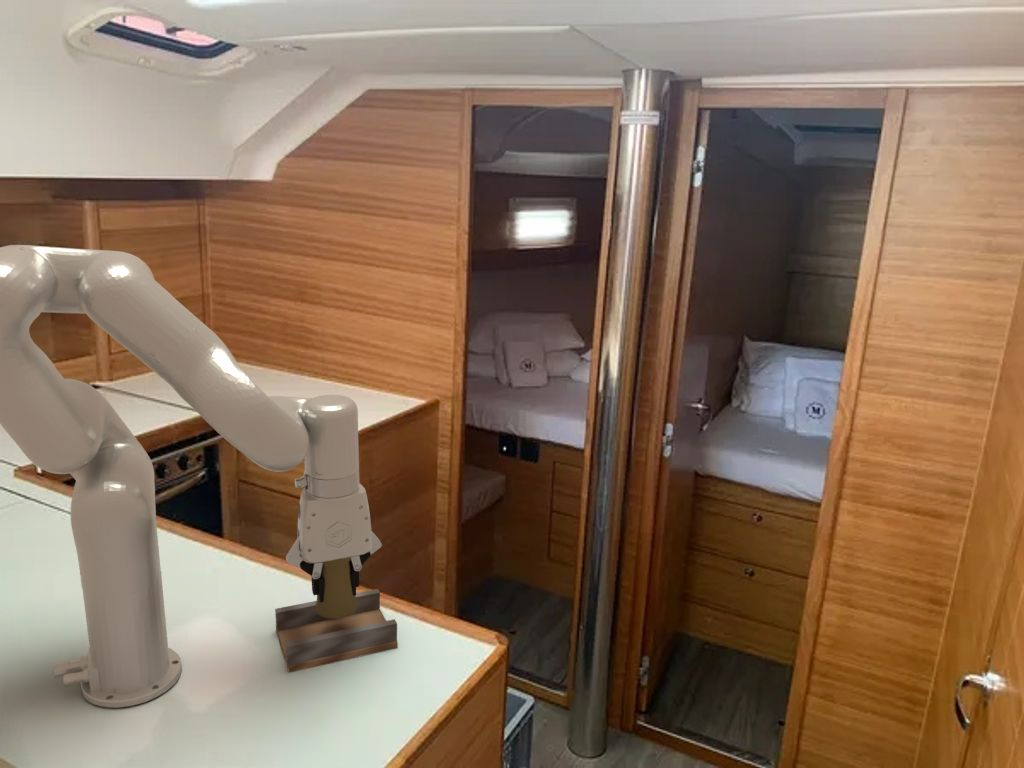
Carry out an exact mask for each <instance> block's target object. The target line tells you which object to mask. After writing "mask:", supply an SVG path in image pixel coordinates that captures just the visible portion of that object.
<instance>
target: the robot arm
mask: <svg viewBox="0 0 1024 768" xmlns="http://www.w3.org/2000/svg"><path fill="white" fill-rule="evenodd" d="M42 313H55V314H80V315H81V314H84V315H85V314H86V316H87V317H88V318H89V319H90V320H91V321H93V323H95V324H96V325H97V326H98V327H99V328H100V329H102V330H103V331H104V332H105V333H106V334H108V335H109V336H110V337H111V338H113V339H114V340H115V341H116V342H117V343H119V344H120V345H121V346H122V347H124V348H125V349H126V350H127V351H129V353H131V354H132V355H133V356H134V357H136V358H137V359H138V360H139V361H140V362H142V364H144V365H145V366H147V367H148V369H150V370H151V371H152V372H154V373H155V374H156V375H157V376H159V377H160V378H161V379H162V380H163V381H165V382H166V383H167V384H168V385H169V386H171V388H172V389H173V391H175V392H176V393H177V395H178V396H179V397H180V398H181V399H182V400H183V401H185V403H187V405H189V406H190V408H192V409H193V410H194V411H195V412H196V413H197V414H198V415H199V416H201V418H202V419H203V420H204V421H205V422H206V423H207V424H208V425H209V426H210V427H212V428H213V429H214V431H216V432H217V433H218V434H219V435H220V437H222V438H224V439H225V440H226V441H227V442H228V443H229V444H231V445H232V446H233V447H234V448H235V449H237V450H238V451H239V452H240V453H242V455H244V456H246V457H247V458H248V459H249V460H250V461H251V462H253V463H254V464H256V465H257V466H259V467H260V468H262V469H265V470H267V471H271V472H274V473H275V472H277V473H278V472H279V473H282V472H288V471H290V470H293V469H295V468H297V467H298V466H300V464H302V463H303V461H304V470H303V474H302V476H300V477H299V478H294V487H295V488H296V489H302V490H301V493H300V499H299V504H298V513H297V514H298V515H297V516H298V517H297V538H296V540H295V541H294V543H293V544H292V545H291V548H290V549H289V550H288V552H287V554H286V556H285V559H286V563H287V564H288V565H290V566H293V567H296V568H299V569H301V570H302V571H303V572H305V573H306V574H308V575H310V576H311V592H312V596H317V595H318V596H319V601H320V603H321V602H323V601H324V590H325V584H324V578H323V577H322V572H321V570H322V564H323V563H322V562H328V561H333V560H337V559H344V558H350V557H351V560H350V561H349V563H350V569H351V571H350V576H351V586H352V591H353V596H355V595H356V593H357V588H358V587H359V588H360V571H361V570H362V568H363V565H364V564H365V563H366V562H367V560H368V559H369V558H371V555H373V554H374V553H375V552H377V551H378V550H379V549H380V548H382V546H383V545H382V542H381V540H380V539H379V538H378V536H377V535H376V534H375V533H374V532H373V531H372V524H371V523H372V522H371V514H370V506H369V501H368V495H367V491H366V488H365V487H364V486H363V485H362V484H361V483H360V458H359V457H360V455H359V453H360V452H359V450H360V449H359V411H358V406H357V403H356V402H355V401H354V400H353V399H352V398H351V397H348V396H345V395H341V394H324V395H318V396H314V397H296V396H294V397H293V396H282V395H281V396H280V395H269V396H268V395H267V393H265V392H264V391H263V390H262V389H261V388H260V387H259V386H258V385H257V384H256V383H255V382H254V380H252V378H250V377H249V375H248V374H247V372H245V371H244V369H243V368H242V367H241V365H240V364H239V363H238V362H237V360H236V358H235V357H234V355H233V353H232V352H231V350H230V349H229V348H228V346H227V344H225V343H224V342H223V340H222V339H221V338H220V337H219V336H218V335H217V334H216V333H215V332H214V331H212V329H211V328H210V327H209V326H207V325H206V324H205V323H204V322H203V321H202V320H200V318H198V317H197V316H196V315H194V314H193V313H192V312H191V311H190V310H189V309H188V308H186V307H185V306H184V305H183V304H182V303H181V302H179V300H177V299H176V298H175V297H174V296H173V295H172V294H171V293H170V292H169V291H168V290H167V289H166V288H164V287H163V286H162V285H161V284H160V283H159V282H158V281H156V280H155V278H154V274H153V272H152V270H151V268H150V267H149V265H148V264H146V262H145V261H144V260H142V259H141V258H140V257H138V256H136V255H134V254H132V253H129V252H125V251H117V250H108V249H107V250H105V249H88V248H87V249H85V248H72V247H58V246H57V247H56V246H43V245H31V244H9V245H5V246H0V425H1V427H2V428H3V429H4V431H5V432H6V433H7V434H8V436H10V438H11V439H12V440H13V441H14V442H15V444H16V445H17V446H18V447H19V449H20V450H21V451H22V453H23V454H24V455H25V457H27V459H28V460H29V462H31V463H32V464H34V465H35V466H36V467H38V468H39V469H40V470H43V471H46V472H47V473H51V474H56V475H66V474H67V475H68V474H70V476H72V478H73V479H74V480H75V483H74V487H73V492H72V496H71V497H72V498H71V502H70V524H71V531H72V536H73V540H74V545H75V549H76V555H77V560H78V566H79V568H78V569H79V575H80V577H79V578H80V584H81V589H82V597H83V605H84V613H85V621H86V627H87V628H86V629H87V637H88V643H89V644H88V646H89V647H88V654H86V655H81V656H80V659H75V660H67V661H61V662H57V663H54V664H53V665H54V666H53V672H54V673H53V674H54V679H59V678H63V685H64V686H68V685H73V684H76V683H80V689H81V693H82V696H83V697H84V699H86V701H88V702H89V703H90V704H92V705H96V706H99V707H104V708H112V709H113V708H114V709H115V708H117V709H118V708H125V707H126V708H127V707H132V706H136V705H140V704H143V703H147V702H148V701H151V700H153V699H155V698H157V697H159V696H160V695H162V694H165V693H166V692H167V691H168V690H169V689H170V688H172V687H173V686H174V685H175V684H176V682H178V680H179V678H180V677H181V675H182V671H183V668H182V667H183V666H182V665H183V664H182V658H181V657H180V655H179V653H178V652H176V651H175V650H173V649H172V648H169V643H168V642H169V641H168V633H167V632H168V631H167V623H166V611H165V609H166V608H165V599H164V598H165V597H164V589H163V588H164V587H163V578H162V577H163V576H162V569H161V558H160V550H159V549H160V548H159V539H158V531H157V530H158V529H157V514H156V513H157V510H156V486H155V469H154V466H153V462H152V460H151V458H150V456H149V455H148V453H147V451H146V450H145V448H144V447H143V445H142V444H141V443H140V442H139V441H138V438H136V437H135V435H134V434H133V432H132V431H131V430H130V428H129V427H128V426H127V424H126V423H125V421H123V419H122V418H121V417H120V415H119V414H118V412H117V411H116V410H115V408H113V406H112V405H111V403H110V402H109V401H108V399H107V398H106V397H105V396H104V395H103V394H102V393H101V392H100V391H99V390H97V388H95V387H93V385H90V384H89V383H86V382H84V381H81V380H79V379H78V380H77V379H75V378H74V379H73V378H64V376H63V375H62V374H61V373H60V371H58V369H57V367H56V366H55V364H54V363H53V361H52V360H51V359H50V358H49V356H47V353H45V352H44V351H43V350H42V349H41V348H40V347H39V346H38V345H37V344H36V342H34V341H33V338H32V337H31V334H30V328H31V325H32V324H33V322H35V320H36V319H37V318H38V317H39V316H40V315H41V314H42ZM300 555H301V556H300Z"/></svg>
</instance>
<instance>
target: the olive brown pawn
mask: <svg viewBox="0 0 1024 768" xmlns="http://www.w3.org/2000/svg"><path fill="white" fill-rule="evenodd" d="M350 560H351V557H350V558H344V559H337V560H333V561H328V562H322V563H323V564H322V570H321V572H322V577H323V578H324V584H325V590H324V601H323V602H321V603H320V601H319V596H318V595H316V601H317V602H316V611H317V613H318V614H319V615H320V616H323V617H325V618H341V617H345V616H348V615H350V614H351V613H353V612H354V611H355V609H356V607H357V603H356V597H355V596H353V591H352V586H351V576H350V571H351V569H350V563H349V561H350Z"/></svg>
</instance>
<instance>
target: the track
mask: <svg viewBox="0 0 1024 768" xmlns="http://www.w3.org/2000/svg"><path fill="white" fill-rule="evenodd" d="M380 594H381V593H380V591H379V588H375V589H370V590H366V591H360V592H356V595H355V597H356V603H357V607H356V609H355V611H354V612H353V613H351V614H350V615H348V616H345V617H341V618H325V617H323V616H320V615H319V614H318V613H317V611H316V602H317V600H314V601H307V602H303V603H298V604H292V605H288V606H282V607H278V608H274V609H275V610H274V611H275V631H276V635H277V638H278V641H279V644H280V649H281V652H282V654H283V657H284V661H285V664H286V668H287V671H288V673H293V672H297V671H301V670H302V671H303V670H306V669H310V668H314V667H315V668H316V667H319V666H325V665H328V664H332V663H337V662H341V661H345V660H349V659H353V658H354V659H355V658H359V657H363V656H367V655H368V656H369V655H372V654H375V653H381V652H384V651H389V650H390V651H391V650H393V649H398V646H399V645H398V644H399V643H398V623H397V621H396V619H395V618H394V619H390V620H389V619H388V620H386V618H385V616H384V614H383V611H382V610H381V595H380Z"/></svg>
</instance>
